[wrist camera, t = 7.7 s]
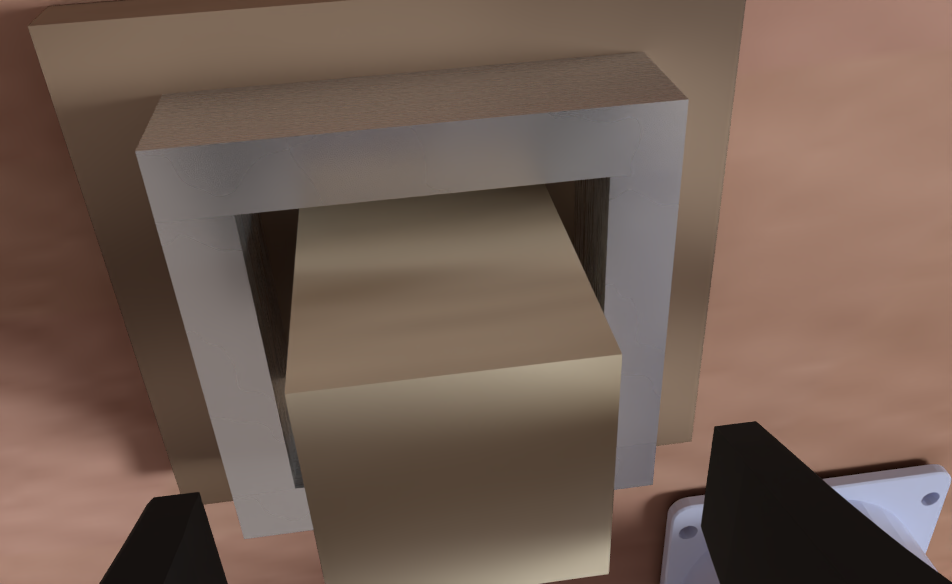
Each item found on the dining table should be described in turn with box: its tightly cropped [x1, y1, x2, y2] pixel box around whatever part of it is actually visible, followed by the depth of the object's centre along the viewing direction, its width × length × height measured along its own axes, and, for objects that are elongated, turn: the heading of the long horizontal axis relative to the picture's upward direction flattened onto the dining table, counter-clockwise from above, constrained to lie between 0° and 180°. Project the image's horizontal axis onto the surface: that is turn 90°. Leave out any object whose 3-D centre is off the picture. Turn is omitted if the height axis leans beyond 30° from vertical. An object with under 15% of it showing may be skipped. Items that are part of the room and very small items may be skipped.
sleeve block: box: [285, 184, 622, 584], centre depth 15 cm, size 4×4×6 cm
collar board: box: [28, 0, 746, 539], centre depth 17 cm, size 11×12×4 cm
